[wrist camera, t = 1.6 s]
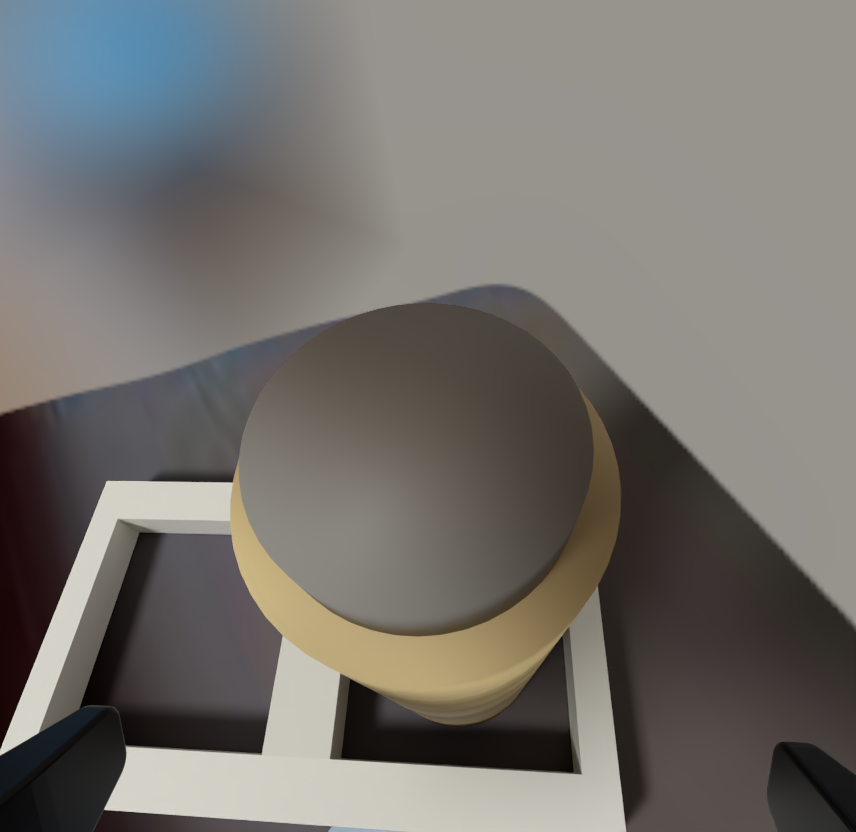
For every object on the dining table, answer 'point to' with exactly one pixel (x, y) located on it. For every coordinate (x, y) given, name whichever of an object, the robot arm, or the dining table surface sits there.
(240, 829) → the dining table surface
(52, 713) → the holder
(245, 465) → the plug
